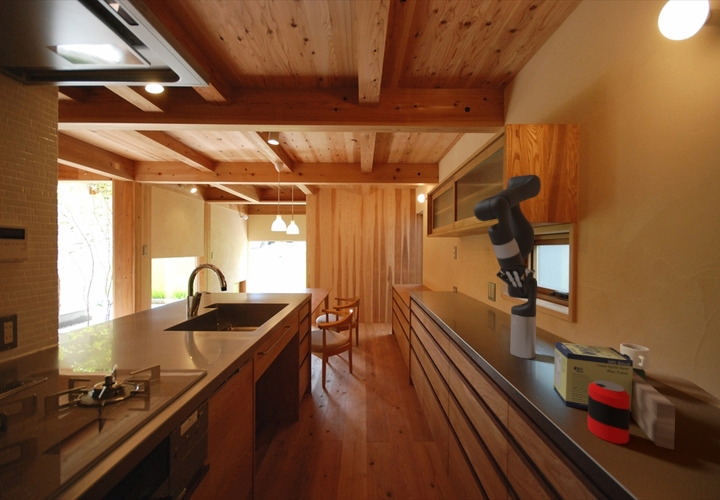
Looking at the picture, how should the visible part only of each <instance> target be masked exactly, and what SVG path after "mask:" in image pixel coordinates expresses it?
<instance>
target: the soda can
mask: <svg viewBox="0 0 720 500" xmlns="http://www.w3.org/2000/svg"><path fill="white" fill-rule="evenodd" d="M630 418H631V417H630V396H629V394H628V393H627V392H626V391H625V389H624V388H623V387H622V386H620V385H618V384H615V383H613V382H609V381H604V380H595V381H594V382H592V383H591V384H590V385H589V387H588V409H587V428H588V430H589V431H590V432H591V433H592V434H593V435H594V436H596V437H597V438H599V439H601V440H603V441H605V442H609V443H612V444H614V445H615V444H616V445H624V444H627V443H628V442H629V441H630Z"/></svg>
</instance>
